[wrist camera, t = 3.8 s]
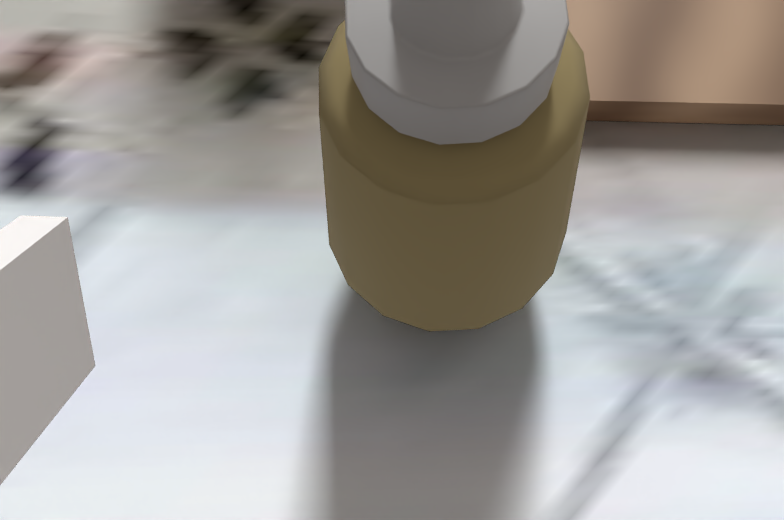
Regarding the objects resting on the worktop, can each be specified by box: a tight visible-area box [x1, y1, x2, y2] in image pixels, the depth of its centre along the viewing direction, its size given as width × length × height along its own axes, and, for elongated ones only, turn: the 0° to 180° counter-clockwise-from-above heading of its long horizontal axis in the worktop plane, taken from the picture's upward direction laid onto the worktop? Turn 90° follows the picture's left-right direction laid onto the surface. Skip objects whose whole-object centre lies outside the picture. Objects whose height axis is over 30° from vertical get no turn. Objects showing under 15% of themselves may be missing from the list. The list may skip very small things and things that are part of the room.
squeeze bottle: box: [319, 0, 590, 331], centre depth 20 cm, size 8×8×18 cm
